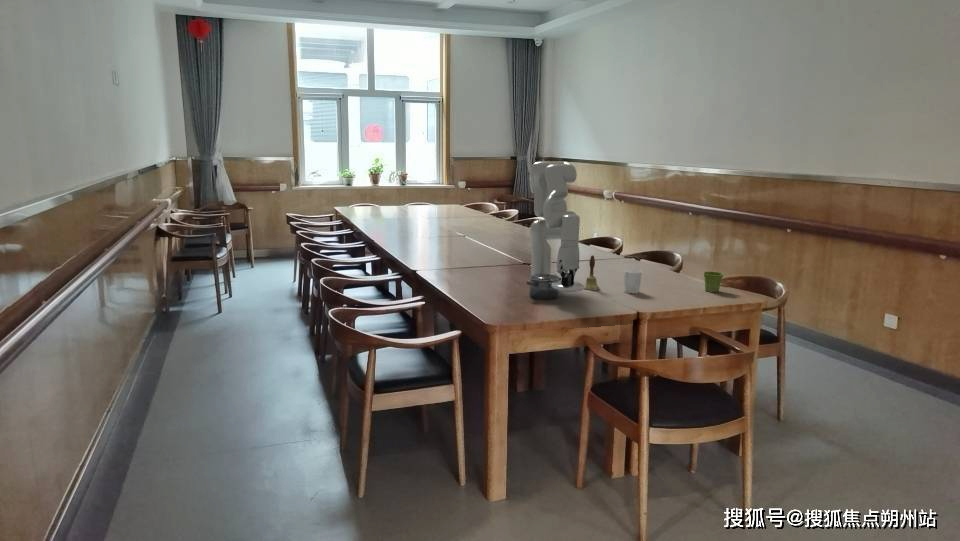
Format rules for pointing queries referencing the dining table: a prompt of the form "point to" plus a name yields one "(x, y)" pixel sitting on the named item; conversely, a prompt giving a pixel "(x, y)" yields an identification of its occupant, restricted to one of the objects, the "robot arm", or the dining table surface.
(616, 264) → the dining table surface
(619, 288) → the dining table surface
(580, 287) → the lid
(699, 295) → the dining table surface
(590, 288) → the hand bell
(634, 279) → the white cup
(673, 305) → the dining table surface
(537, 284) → the pot
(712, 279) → the plant pot
